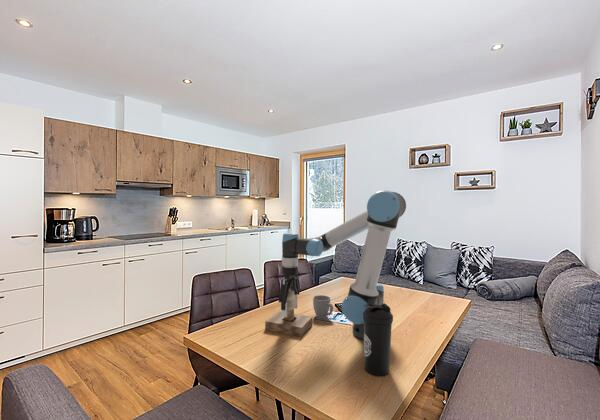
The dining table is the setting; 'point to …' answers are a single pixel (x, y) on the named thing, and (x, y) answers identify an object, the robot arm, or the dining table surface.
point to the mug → (322, 306)
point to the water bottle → (377, 339)
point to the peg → (290, 306)
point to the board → (289, 324)
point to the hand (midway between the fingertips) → (289, 312)
